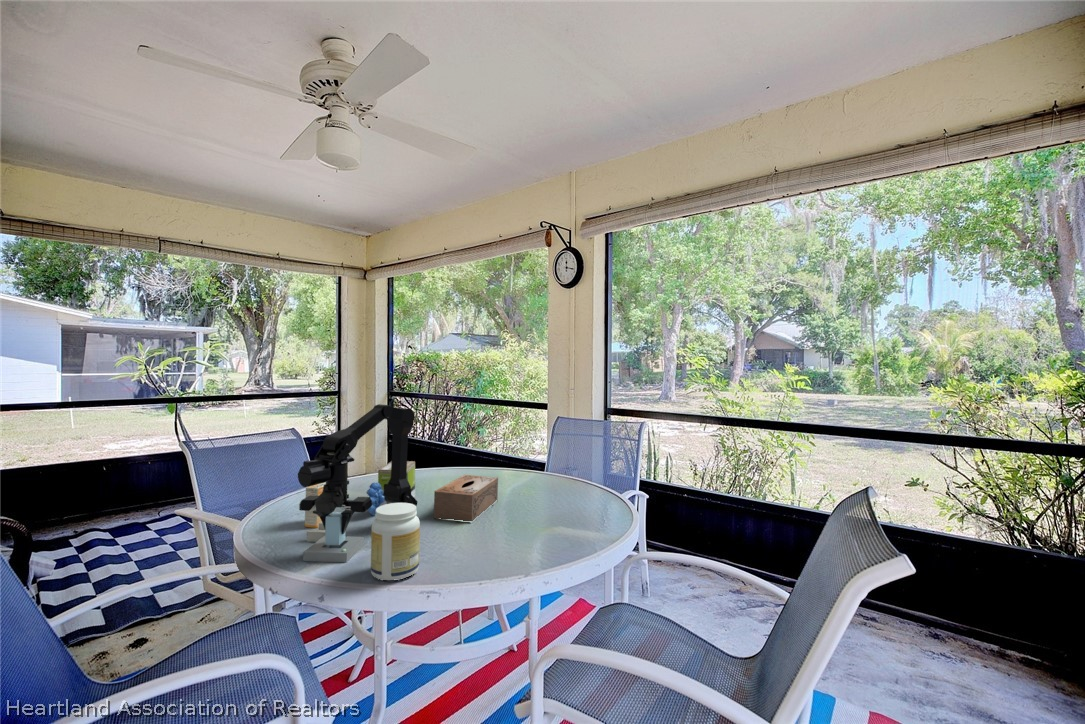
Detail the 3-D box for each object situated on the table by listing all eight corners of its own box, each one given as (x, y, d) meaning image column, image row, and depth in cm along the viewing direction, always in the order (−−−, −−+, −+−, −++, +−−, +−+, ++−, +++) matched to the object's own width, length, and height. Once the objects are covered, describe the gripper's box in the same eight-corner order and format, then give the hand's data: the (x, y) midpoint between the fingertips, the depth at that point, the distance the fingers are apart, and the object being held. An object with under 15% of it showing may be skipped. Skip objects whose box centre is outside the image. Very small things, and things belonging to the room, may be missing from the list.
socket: (363, 545, 141) (364, 535, 141) (346, 562, 129) (346, 551, 129) (324, 544, 141) (324, 534, 141) (303, 560, 129) (303, 550, 129)
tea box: (391, 496, 192) (392, 460, 192) (415, 497, 192) (416, 460, 192) (376, 507, 177) (377, 468, 177) (403, 508, 177) (404, 469, 177)
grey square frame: (345, 531, 152) (346, 522, 152) (332, 542, 143) (333, 532, 143) (321, 530, 152) (321, 521, 152) (306, 541, 143) (307, 531, 143)
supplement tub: (425, 563, 130) (426, 502, 130) (409, 584, 118) (411, 516, 118) (381, 561, 130) (383, 500, 130) (362, 581, 118) (363, 514, 118)
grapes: (380, 521, 162) (381, 486, 162) (360, 520, 163) (361, 485, 163) (392, 510, 174) (392, 478, 174) (373, 509, 174) (374, 477, 174)
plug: (345, 539, 137) (345, 512, 137) (339, 545, 133) (339, 517, 133) (331, 539, 137) (332, 512, 137) (325, 544, 133) (325, 516, 133)
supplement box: (316, 528, 154) (317, 488, 154) (304, 527, 155) (305, 487, 155) (333, 520, 162) (333, 482, 162) (320, 519, 163) (321, 481, 163)
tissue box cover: (471, 524, 163) (472, 495, 163) (433, 519, 166) (434, 491, 166) (497, 502, 188) (498, 477, 188) (463, 499, 191) (464, 474, 191)
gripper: (289, 485, 127) (287, 543, 128) (357, 487, 127) (356, 545, 127) (309, 475, 139) (308, 528, 139) (373, 477, 138) (371, 530, 138)
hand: (335, 533), depth 135 cm, fingers closed on plug, 4 cm apart
